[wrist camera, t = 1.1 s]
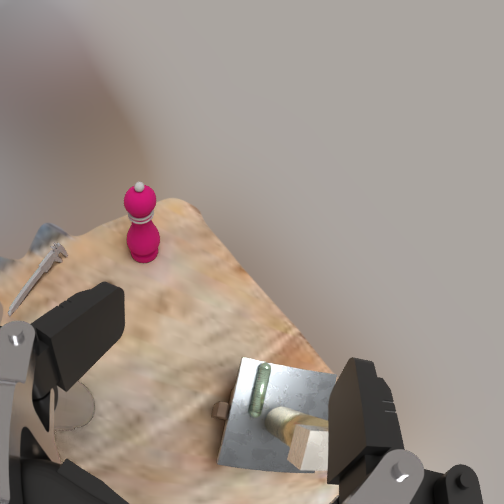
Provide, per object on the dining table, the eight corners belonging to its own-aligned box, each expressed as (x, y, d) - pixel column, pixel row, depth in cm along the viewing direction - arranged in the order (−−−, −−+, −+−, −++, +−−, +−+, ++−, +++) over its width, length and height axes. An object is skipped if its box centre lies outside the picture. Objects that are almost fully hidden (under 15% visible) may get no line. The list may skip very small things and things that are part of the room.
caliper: (66, 254, 53) (58, 237, 49) (68, 256, 53) (61, 240, 48) (8, 314, 41) (-5, 301, 36) (10, 317, 41) (-3, 304, 36)
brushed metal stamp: (310, 470, 35) (383, 515, 16) (216, 461, 34) (238, 526, 15) (332, 374, 43) (419, 368, 24) (241, 357, 42) (283, 347, 23)
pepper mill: (126, 264, 56) (114, 197, 41) (131, 237, 60) (123, 169, 45) (158, 266, 58) (156, 199, 42) (161, 239, 62) (162, 171, 46)
